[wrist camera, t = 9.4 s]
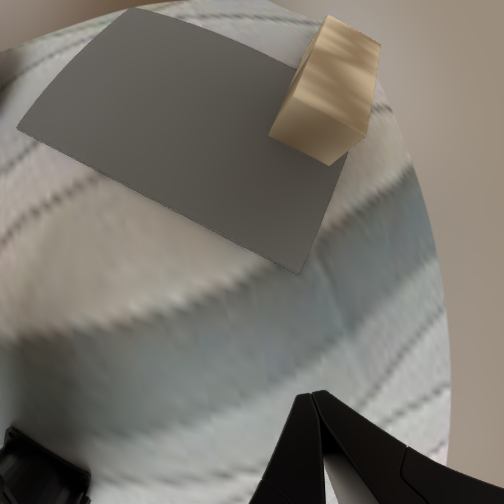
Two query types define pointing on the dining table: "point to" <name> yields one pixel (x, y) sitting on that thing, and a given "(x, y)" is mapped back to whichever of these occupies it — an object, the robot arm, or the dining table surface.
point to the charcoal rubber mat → (189, 131)
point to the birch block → (330, 93)
